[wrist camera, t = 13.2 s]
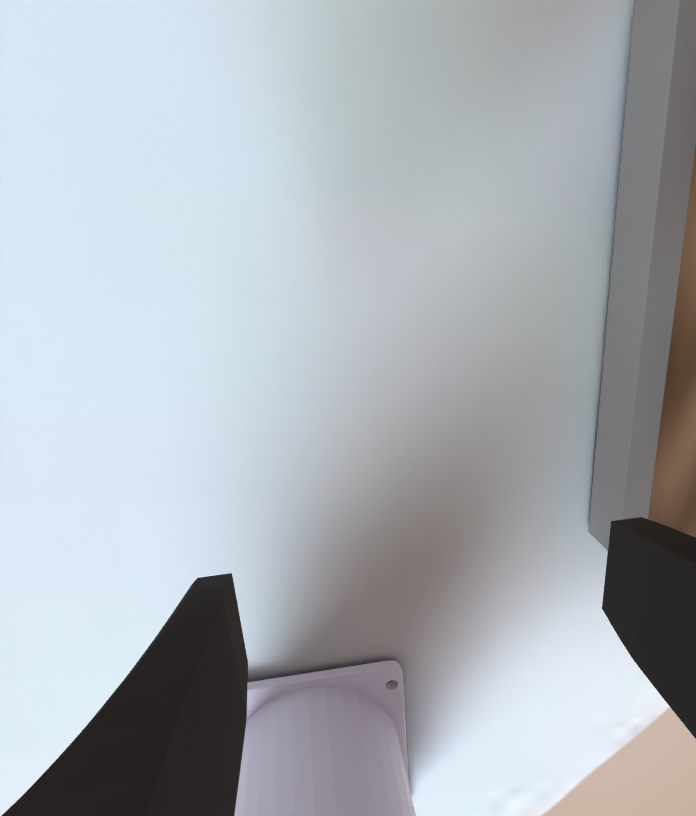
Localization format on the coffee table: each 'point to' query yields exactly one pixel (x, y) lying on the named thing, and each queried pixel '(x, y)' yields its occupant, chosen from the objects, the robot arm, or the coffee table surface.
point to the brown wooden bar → (679, 399)
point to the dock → (645, 257)
